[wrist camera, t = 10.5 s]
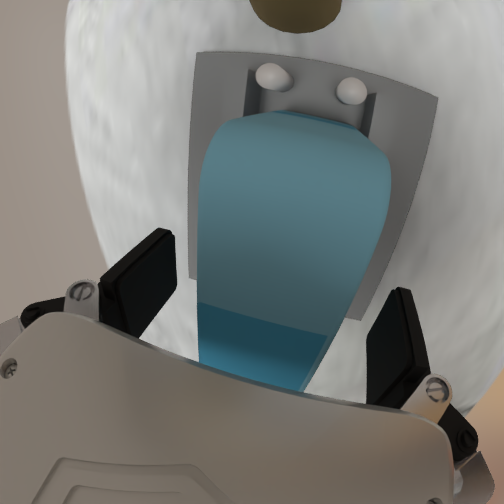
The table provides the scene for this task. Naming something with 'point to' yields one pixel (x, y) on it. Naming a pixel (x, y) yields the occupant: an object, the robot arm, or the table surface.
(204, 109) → the tray
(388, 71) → the table surface
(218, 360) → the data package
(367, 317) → the table surface
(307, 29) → the cork
